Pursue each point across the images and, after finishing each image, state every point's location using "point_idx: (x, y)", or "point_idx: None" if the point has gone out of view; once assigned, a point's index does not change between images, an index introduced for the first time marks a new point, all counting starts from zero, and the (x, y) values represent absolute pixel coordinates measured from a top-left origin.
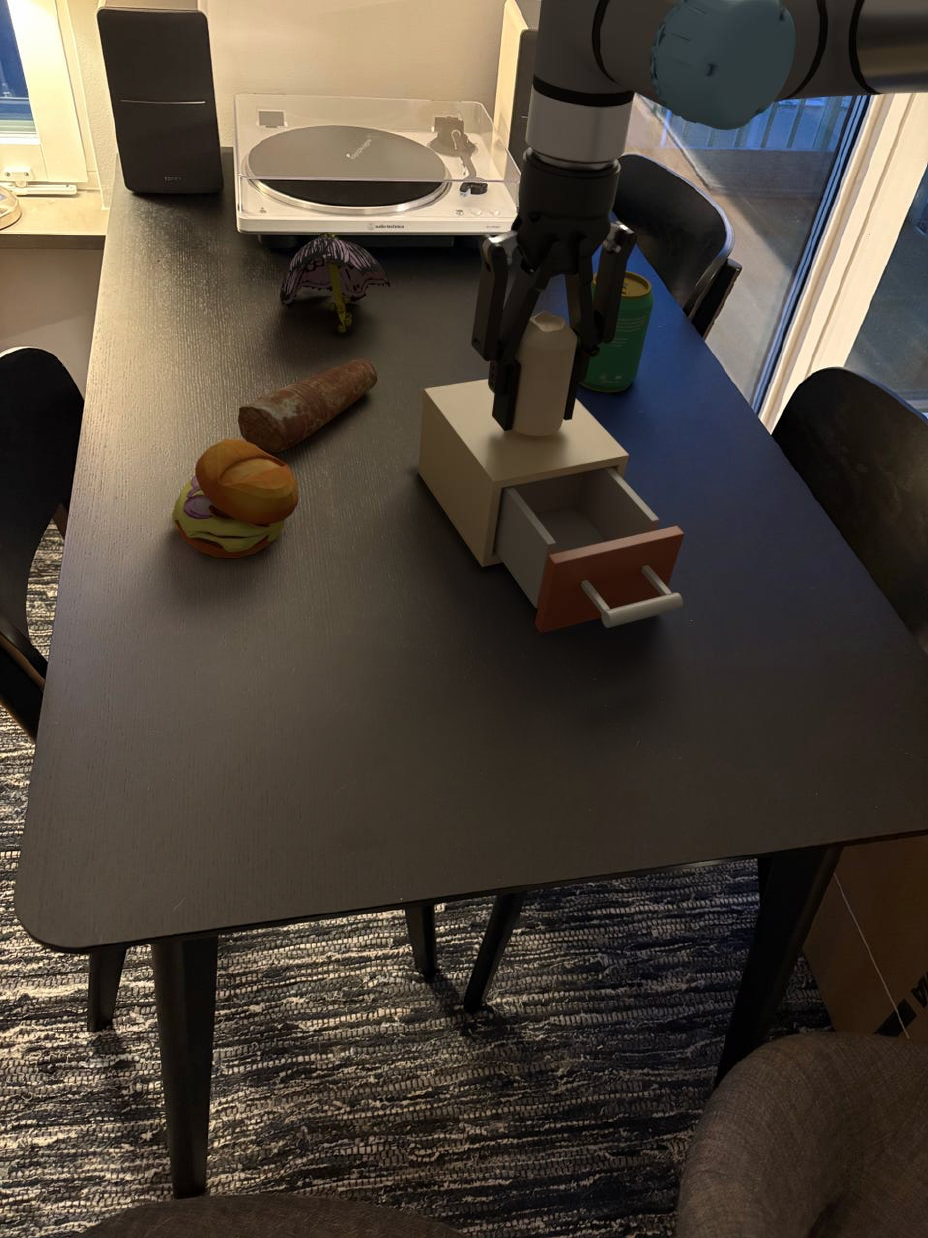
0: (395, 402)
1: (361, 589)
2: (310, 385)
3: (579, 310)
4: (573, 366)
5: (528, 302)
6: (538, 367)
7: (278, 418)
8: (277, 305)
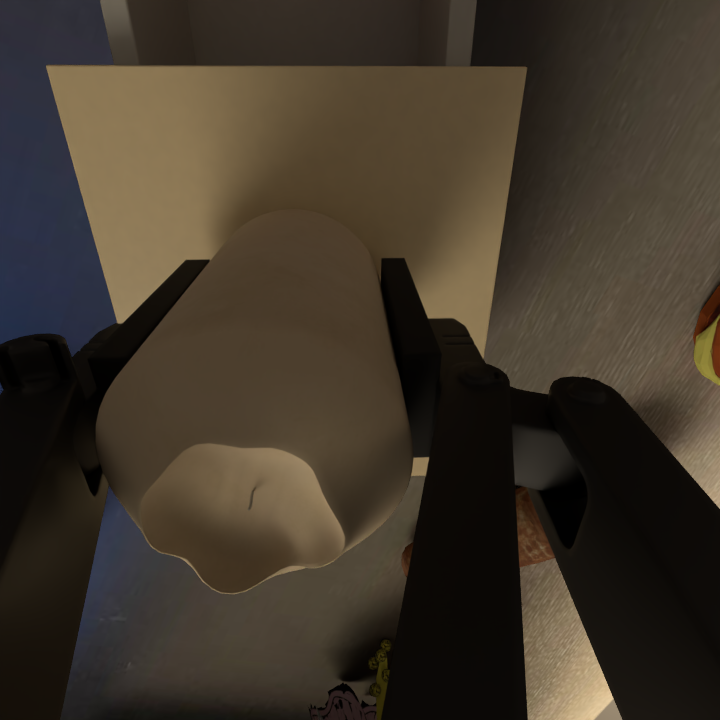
0: None
1: (688, 99)
2: (543, 548)
3: (18, 548)
4: None
5: (474, 646)
6: (346, 310)
7: None
8: None
